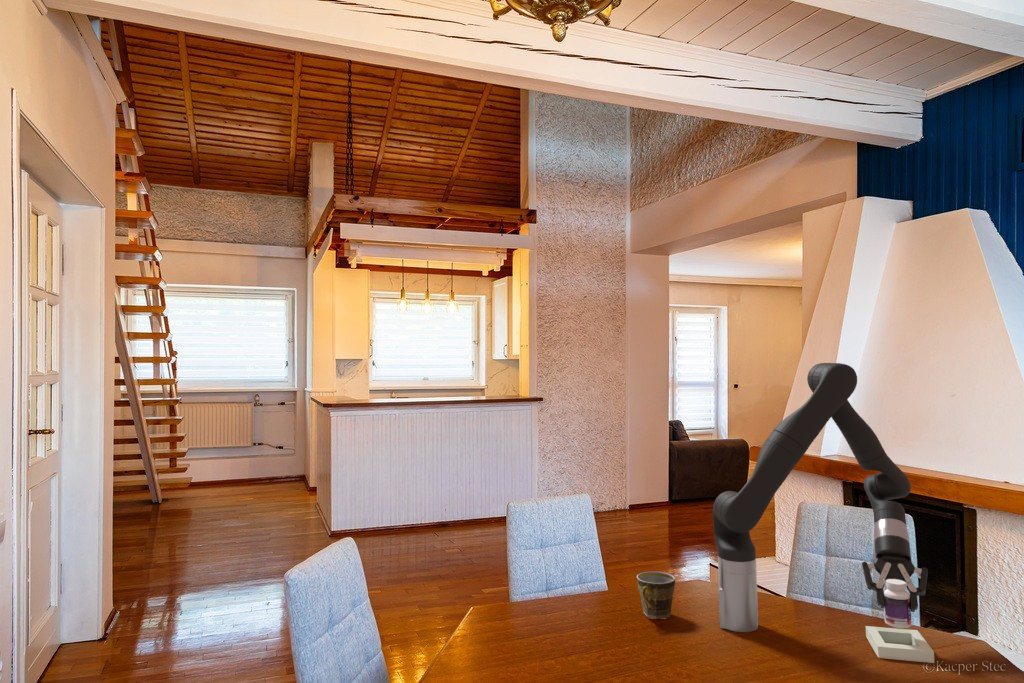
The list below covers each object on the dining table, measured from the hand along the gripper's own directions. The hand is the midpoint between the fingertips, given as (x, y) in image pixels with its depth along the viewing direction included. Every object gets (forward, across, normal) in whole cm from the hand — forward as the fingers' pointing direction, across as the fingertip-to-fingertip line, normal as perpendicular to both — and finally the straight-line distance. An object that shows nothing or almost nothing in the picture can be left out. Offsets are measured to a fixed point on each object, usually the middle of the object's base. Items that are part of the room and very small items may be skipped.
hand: (897, 608), depth 152 cm
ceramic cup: (+8, -56, +6) cm, 57 cm away
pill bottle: (+2, 0, +4) cm, 5 cm away
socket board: (+6, 0, +8) cm, 10 cm away
